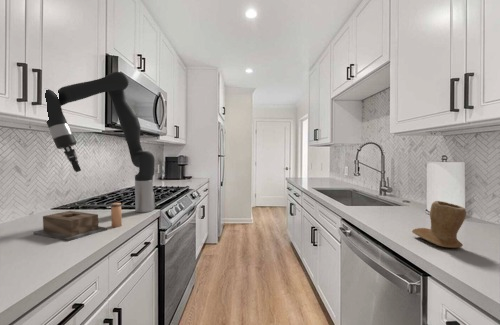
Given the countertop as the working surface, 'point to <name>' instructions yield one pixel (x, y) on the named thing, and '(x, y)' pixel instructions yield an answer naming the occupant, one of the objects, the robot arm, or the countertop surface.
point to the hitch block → (70, 225)
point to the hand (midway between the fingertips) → (78, 170)
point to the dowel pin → (116, 215)
